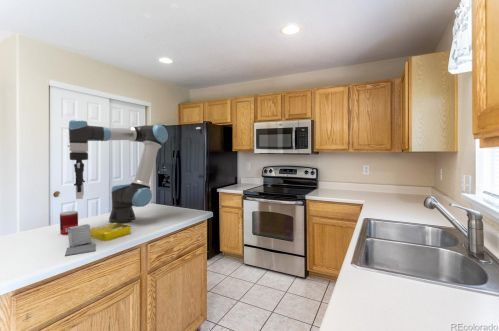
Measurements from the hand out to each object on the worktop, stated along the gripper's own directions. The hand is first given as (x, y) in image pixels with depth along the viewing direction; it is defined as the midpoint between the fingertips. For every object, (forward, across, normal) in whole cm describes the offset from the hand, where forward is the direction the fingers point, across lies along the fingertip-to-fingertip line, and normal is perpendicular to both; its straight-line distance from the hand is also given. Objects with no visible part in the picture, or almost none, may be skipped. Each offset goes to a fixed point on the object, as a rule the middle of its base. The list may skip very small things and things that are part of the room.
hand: (80, 197), depth 125 cm
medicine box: (+22, +8, 0) cm, 23 cm away
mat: (+22, +15, +1) cm, 27 cm away
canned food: (+22, -17, -6) cm, 28 cm away
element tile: (+22, -2, +13) cm, 26 cm away
